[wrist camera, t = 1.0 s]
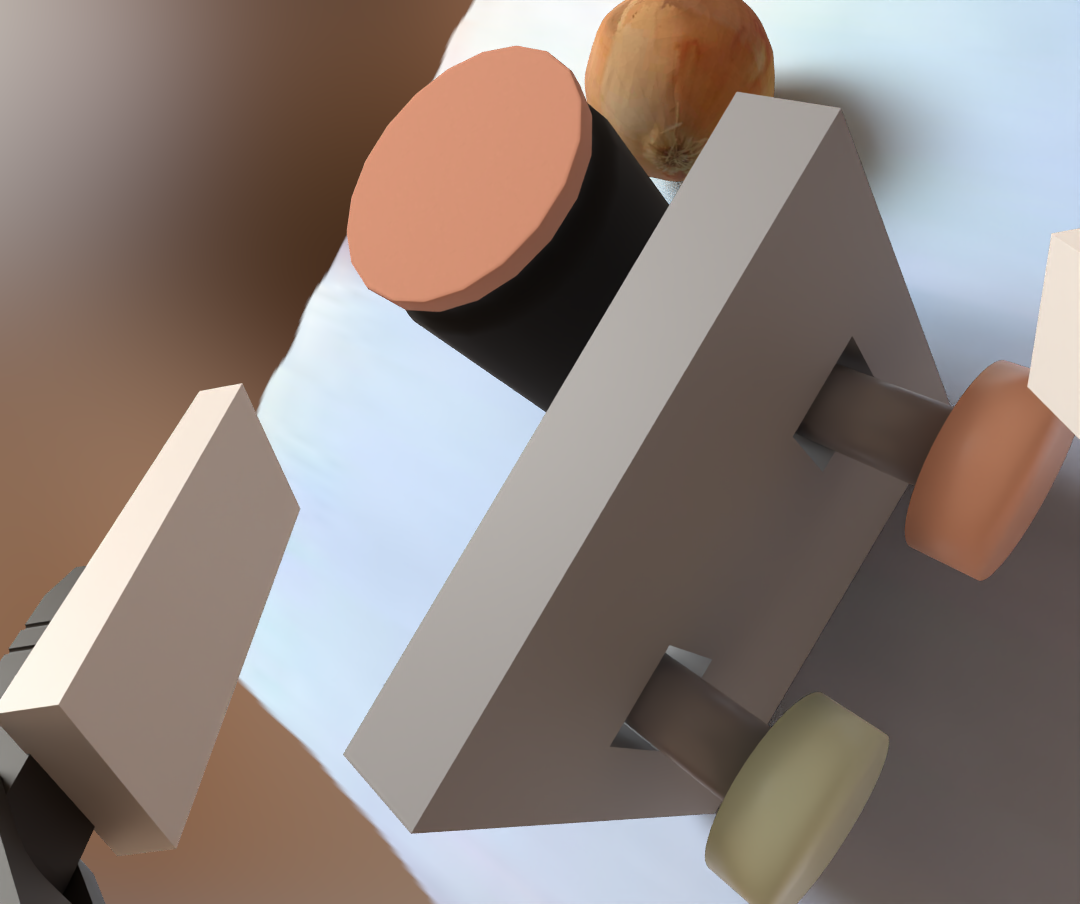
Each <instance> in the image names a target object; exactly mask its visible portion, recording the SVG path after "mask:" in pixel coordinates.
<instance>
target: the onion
mask: <svg viewBox="0 0 1080 904" xmlns="http://www.w3.org/2000/svg"><path fill="white" fill-rule="evenodd" d="M774 86H775V72H774V57H773V50H772V47H771V45H770V42H769V39H768V37H767V34H766V32H765V30H764V27H763V25H762V23H761V21H760V20H759V18H758V17H757V15H756V14H755V13H754V11H753V10H752V9H751V8H750V7H749V6H748V5H747V4H746V3H745V2H744V1H743V0H625V1H623V2H622V3H620V4H619V5H617V6H616V7H615V8H614V9H613V10H612V11H611V12H609V13H608V14H607V15H606V17H605V18H604V19H603V21H602V23H601V25H600V27H599V29H598V31H597V34H596V37H595V40H594V43H593V46H592V49H591V53H590V56H589V60H588V64H587V68H586V73H585V91H586V98H587V103H588V104H589V105H591V106H592V107H593V108H594V109H595V110H597V111H598V112H599V113H600V114H601V115H603V116H604V117H605V118H606V119H607V120H608V121H609V122H610V124H611V125H612V127H613V128H614V129H615V131H616V132H617V133H618V135H619V136H620V138H621V139H622V140H623V142H624V143H625V145H626V146H627V147H628V149H629V150H630V151H631V153H632V154H633V156H634V157H635V158H636V160H637V161H638V162H639V164H640V165H641V167H642V168H643V169H644V171H645V172H646V174H647V175H648V176H649V177H654V178H658V179H662V180H667V181H684V180H685V178H686V176H687V175H688V173H689V171H690V170H691V168H692V166H693V165H694V163H695V161H696V159H697V158H698V156H699V154H700V153H701V151H702V149H703V148H704V146H705V144H706V143H707V141H708V139H709V138H710V136H711V134H712V133H713V131H714V129H715V128H716V126H717V124H718V122H719V121H720V119H721V117H722V116H723V114H724V112H725V111H726V109H727V107H728V106H729V104H730V102H731V101H732V99H733V97H734V96H735V94H736V92H742V93H748V94H755V95H761V96H768V97H774Z"/></svg>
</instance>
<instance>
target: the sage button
mask: <svg viewBox="0 0 1080 904" xmlns="http://www.w3.org/2000/svg"><path fill="white" fill-rule="evenodd" d="M624 722H625V723H626V724H627V725H629V726H630V727H631V728H632V729H634V730H635V731H636V732H637V733H639V734H640V735H641V736H642V737H644V738H645V739H646V740H647V741H649V742H650V743H651V744H652V745H653V746H655V747H656V748H657V749H658V750H660V751H661V752H662V753H663V754H665V755H666V756H667V757H668V758H670V759H671V760H672V761H673V762H675V763H676V764H677V765H678V766H680V767H681V768H682V769H683V770H685V771H686V772H687V773H688V774H690V775H691V776H692V777H693V778H694V779H696V780H697V781H698V782H699V783H701V784H702V785H703V786H704V787H706V788H707V789H708V790H709V791H711V792H712V793H713V794H714V795H716V796H717V797H718V798H719V799H721V800H722V801H723V802H722V804H721V806H720V808H719V810H718V813H717V815H716V817H715V820H714V822H713V825H712V827H711V830H710V833H709V836H708V840H707V844H706V850H705V862H706V865H707V866H708V868H709V869H711V870H712V871H713V872H714V873H715V874H716V875H717V876H718V877H720V878H721V879H722V880H723V881H724V882H725V883H726V884H728V885H729V886H730V887H731V888H732V889H733V890H734V891H736V892H737V893H738V894H739V895H740V896H741V897H742V898H744V899H745V900H746V901H747V902H748V903H749V904H797V903H798V902H799V901H800V900H801V899H802V897H803V896H804V895H805V894H806V893H807V892H808V890H809V889H810V888H811V887H812V886H813V884H814V883H815V882H816V881H817V879H818V878H819V877H820V875H821V874H822V873H823V871H824V870H825V869H826V867H827V866H828V864H829V863H830V862H831V860H832V859H833V857H834V856H835V854H836V853H837V851H838V850H839V848H840V847H841V845H842V844H843V842H844V841H845V839H846V837H847V836H848V834H849V833H850V831H851V829H852V828H853V826H854V824H855V823H856V821H857V819H858V817H859V816H860V814H861V812H862V810H863V808H864V806H865V805H866V803H867V801H868V799H869V797H870V795H871V793H872V791H873V789H874V787H875V785H876V782H877V780H878V778H879V776H880V773H881V771H882V768H883V765H884V763H885V760H886V757H887V753H888V749H889V737H888V735H887V734H885V733H884V732H882V731H881V730H879V729H877V728H876V727H874V726H873V725H871V724H870V723H868V722H867V721H865V720H864V719H862V718H860V717H859V716H857V715H856V714H854V713H853V712H851V711H850V710H848V709H847V708H845V707H844V706H842V705H840V704H839V703H837V702H836V701H834V700H833V699H831V698H830V697H828V696H827V695H825V694H823V693H822V692H814V693H811V694H809V695H807V696H805V697H804V698H802V699H801V700H799V701H798V702H797V703H795V704H794V705H793V706H792V707H791V708H790V709H789V710H788V711H786V712H785V713H784V714H783V715H782V717H781V718H780V719H779V720H778V721H777V722H776V723H775V724H774V725H773V726H772V727H770V726H769V725H767V724H766V723H764V722H763V721H762V720H760V719H759V718H757V717H756V716H755V715H753V714H752V713H750V712H749V711H747V710H746V709H745V708H743V707H742V706H740V705H739V704H738V703H736V702H735V701H733V700H732V699H731V698H729V697H728V696H726V695H725V694H723V693H722V692H721V691H719V690H718V689H716V688H715V687H714V686H712V685H711V684H709V683H708V682H706V681H705V680H704V679H702V678H701V677H699V676H698V675H697V674H695V673H694V672H692V671H691V670H689V669H688V668H687V667H685V666H684V665H682V664H681V663H680V662H678V661H677V660H675V659H674V658H672V657H671V656H670V655H668V654H667V653H665V654H664V655H663V657H662V659H661V661H660V662H659V664H658V666H657V667H656V669H655V671H654V672H653V674H652V676H651V677H650V679H649V681H648V683H647V684H646V686H645V688H644V689H643V691H642V693H641V694H640V696H639V698H638V699H637V701H636V703H635V705H634V706H633V708H632V710H631V711H630V713H629V715H628V716H627V718H626V720H625V721H624Z"/></svg>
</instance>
